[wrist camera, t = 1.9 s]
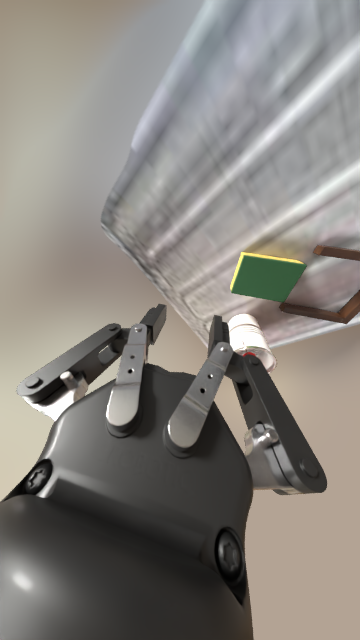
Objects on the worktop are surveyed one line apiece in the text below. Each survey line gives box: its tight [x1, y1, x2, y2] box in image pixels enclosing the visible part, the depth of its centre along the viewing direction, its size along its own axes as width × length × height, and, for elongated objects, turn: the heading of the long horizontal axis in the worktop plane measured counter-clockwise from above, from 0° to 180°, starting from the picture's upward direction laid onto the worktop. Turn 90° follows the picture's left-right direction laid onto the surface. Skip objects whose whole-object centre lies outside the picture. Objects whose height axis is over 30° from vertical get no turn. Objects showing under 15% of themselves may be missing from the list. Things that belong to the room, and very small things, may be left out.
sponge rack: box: [279, 245, 360, 324], centre depth 26 cm, size 12×12×2 cm
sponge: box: [230, 252, 307, 302], centre depth 27 cm, size 7×10×3 cm
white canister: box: [228, 314, 277, 374], centre depth 31 cm, size 10×8×12 cm
